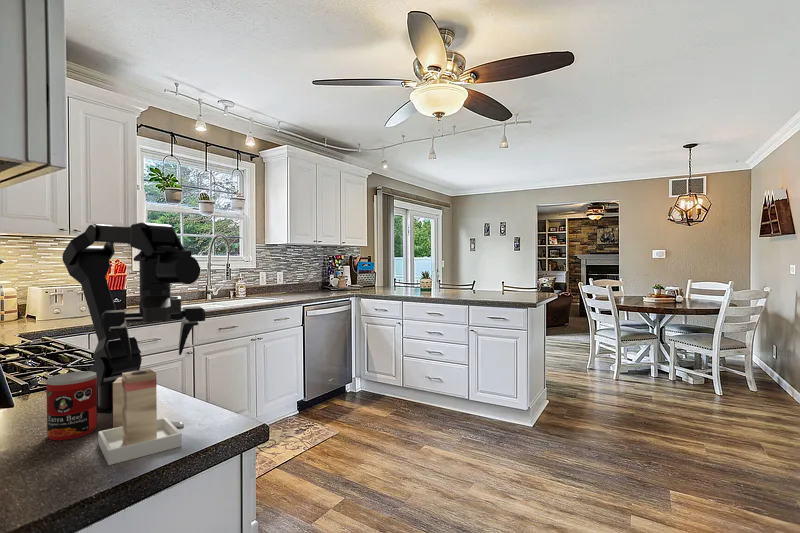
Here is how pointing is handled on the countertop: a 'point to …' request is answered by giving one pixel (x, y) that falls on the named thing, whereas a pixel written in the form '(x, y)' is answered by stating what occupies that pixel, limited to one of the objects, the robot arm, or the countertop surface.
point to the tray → (119, 452)
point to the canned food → (71, 405)
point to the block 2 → (139, 406)
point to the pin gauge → (178, 424)
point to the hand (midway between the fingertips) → (155, 357)
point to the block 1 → (117, 403)
